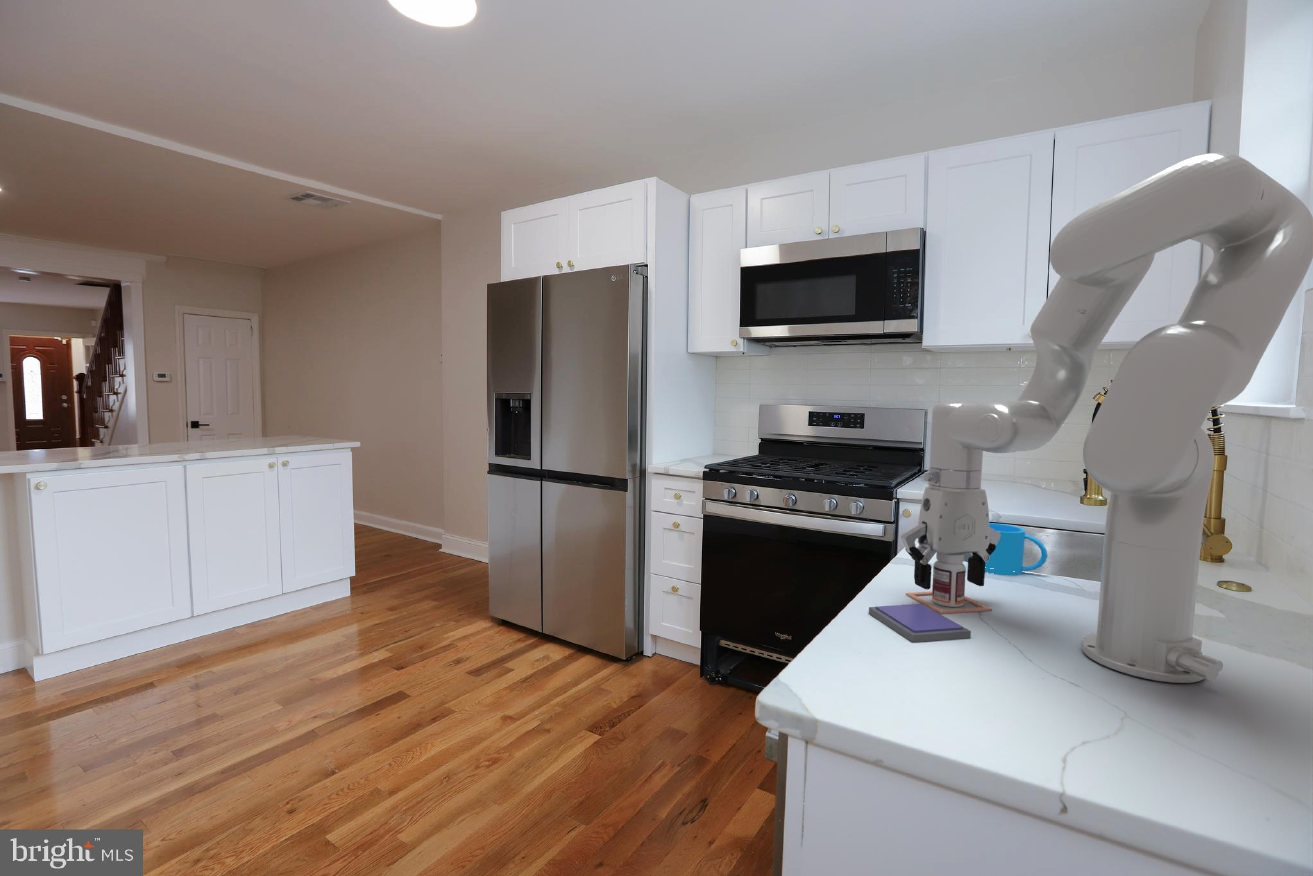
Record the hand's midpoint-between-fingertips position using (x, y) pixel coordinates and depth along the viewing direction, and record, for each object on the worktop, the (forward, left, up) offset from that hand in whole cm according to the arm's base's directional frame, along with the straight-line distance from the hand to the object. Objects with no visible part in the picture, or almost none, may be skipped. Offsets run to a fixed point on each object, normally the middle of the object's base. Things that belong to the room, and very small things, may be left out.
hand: (949, 585), depth 101 cm
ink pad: (-8, +11, -3) cm, 14 cm away
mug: (+14, -24, -3) cm, 28 cm away
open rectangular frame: (0, 0, -3) cm, 3 cm away
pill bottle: (0, 0, -3) cm, 3 cm away
